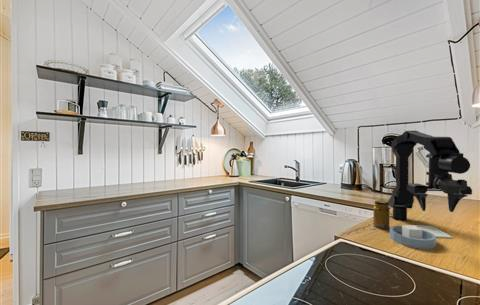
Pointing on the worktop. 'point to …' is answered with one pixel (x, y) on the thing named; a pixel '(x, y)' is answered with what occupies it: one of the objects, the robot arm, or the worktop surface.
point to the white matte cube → (411, 231)
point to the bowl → (413, 239)
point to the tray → (434, 231)
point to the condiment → (381, 215)
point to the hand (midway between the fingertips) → (437, 211)
